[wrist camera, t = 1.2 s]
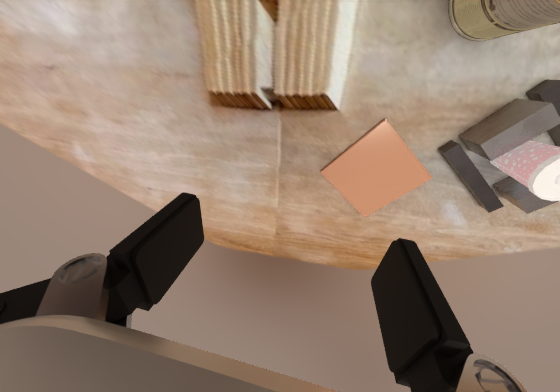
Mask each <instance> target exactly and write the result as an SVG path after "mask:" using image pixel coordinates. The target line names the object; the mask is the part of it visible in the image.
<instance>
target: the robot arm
mask: <svg viewBox="0 0 560 392" xmlns="http://www.w3.org/2000/svg"><path fill="white" fill-rule="evenodd" d="M203 241H204V233H203V225H202V217H201V209H200V201H199V199H198V198H197V197H196V195H194V194H189V193H181V194H180V195H179V196H178V197H176V198H175V199H174V200H173V201H171V202H170V203H169V204H167V205H166V206H165V207H164V208H162V209H161V210H160V211H159V212H157V213H156V214H155V215H154V216H152V217H151V218H150V219H149V220H147V221H146V222H145V223H144V224H142V225H141V226H140V227H139V228H137V229H136V230H135V231H134V232H132V233H131V234H130V235H129V236H127V237H126V238H125V239H124V240H122V241H121V242H120V243H119V244H117V245H116V246H115V247H114V248H113V249H111V250H110V251H109V252H110V254H109V255H108V256H107V257H105V256H104V255H102V254H100V253H91V254H85V255H82V256H78V257H76V258H74V259H72V260H70V261H68V262H66V263H65V264H63V265H62V266H61V267H60V268H59V269H57V270H56V272H55V273H54V275H53V276H52V278H50V279H47V280H43V281H40V282H37V283H33V284H30V285H27V286H24V287H20V288H17V289H13V290H10V291H7V292H4V293H0V392H338V391H335V390H332V389H329V388H325V387H322V386H319V385H316V384H312V383H309V382H306V381H302V380H299V379H296V378H293V377H290V376H287V375H283V374H280V373H277V372H274V371H270V370H267V369H264V368H260V367H257V366H254V365H251V364H247V363H244V362H241V361H238V360H234V359H231V358H227V357H224V356H221V355H218V354H214V353H211V352H208V351H204V350H201V349H198V348H195V347H191V346H188V345H184V344H181V343H178V342H174V341H171V340H167V339H164V338H161V337H158V336H154V335H151V334H147V333H144V332H141V331H137V330H134V329H131V320H132V313H133V311H134V310H135V309H136V308H140V309H143V310H147V311H149V310H150V308H151V307H152V306H153V305H154V304H157V303H158V302H159V301H160V300H161V299H162V297H163V296H164V294H165V293H166V292H167V291H168V289H169V288H170V287H171V285H172V284H173V283H174V281H175V280H176V279H177V277H178V276H179V275H180V273H181V272H182V270H183V269H184V268H185V266H186V265H187V264H188V262H189V261H190V259H191V258H192V257H193V256H194V254H195V253H196V252H197V250H198V249H199V248H200V246H201V245H202V244H203ZM371 286H372V291H373V296H374V300H375V304H376V310H377V314H378V319H379V324H380V328H381V333H382V338H383V342H384V347H385V351H386V356H387V361H388V365H389V369H390V371H391V372H393V373H394V376H395V380H396V383H398V384H401V385H404V386H408V387H410V388H411V392H527V391H526V390H525V388H524V387H523V385H522V384H521V383H520V382H519V381H518V380H517V378H516V377H515V376H514V375H513V374H512V373H511V372H510V371H509V370H507V369H506V368H505V367H504V366H503V365H501V364H500V363H499V362H497V361H495V360H494V359H492V358H490V357H488V356H486V355H484V354H479V353H473V351H472V349H471V347H470V343H469V341H468V339H467V338H466V336H465V334H464V332H463V330H462V328H461V326H460V325H459V323H458V321H457V319H456V317H455V315H454V313H453V311H452V310H451V308H450V306H449V304H448V302H447V300H446V298H445V297H444V295H443V293H442V291H441V289H440V287H439V285H438V284H437V282H436V280H435V278H434V276H433V274H432V272H431V271H430V269H429V267H428V265H427V263H426V261H425V259H424V257H423V256H422V254H421V252H420V250H419V248H418V246H417V244H416V243H415V242H414V241H411V240H406V239H401V238H399V239H397V241H393V242H392V243H391V245H390V247H389V249H388V250H387V252H386V254H385V256H384V257H383V259H382V261H381V263H380V265H379V266H378V268H377V270H376V272H375V273H374V275H373V277H372V280H371Z"/></svg>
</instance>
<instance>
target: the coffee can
mask: <svg viewBox="0 0 560 392" xmlns="http://www.w3.org/2000/svg"><path fill="white" fill-rule="evenodd" d="M449 16H450V19H451V23H452V25H453V27H454V28H455V30H456V31H457V32H458V33H459V34H460V35H461V36H463V37H465V38H467V39H469V40H475V41H486V40H491V39H495V38H498V37H501V36H505V35H509V34H514V33H518V32H522V31H526V30H531V29H535V28H539V27H542V26H547V25H551V24H556V23H560V0H450V1H449Z"/></svg>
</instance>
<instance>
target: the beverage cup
mask: <svg viewBox="0 0 560 392" xmlns="http://www.w3.org/2000/svg"><path fill="white" fill-rule="evenodd" d="M490 163H491V164H493V165H494V166H495V167H497V168H498V169H500V170H501V171H503V172H505V173H506V174H508V175H509V176H511V177H512V178H514V179H515V180H517V181H518V182H520V183H522V184H523V185H525V186H526V187H528V188H529V191H531V192H532V193H533V194H535V195H536V196H538V197H539V198H541V199H544V200H549V201H560V147H558V146H553V145H549V144H544V143H540V142H535V141H531V140H529V141H527V142H526V143H524V144H522V145H520V146H518V147H516V148H515V149H513V150H511V151H509V152H507V153H505V154H504V155H502V156H500V157H498V158H496V159H494V160H493V161H490Z"/></svg>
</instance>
